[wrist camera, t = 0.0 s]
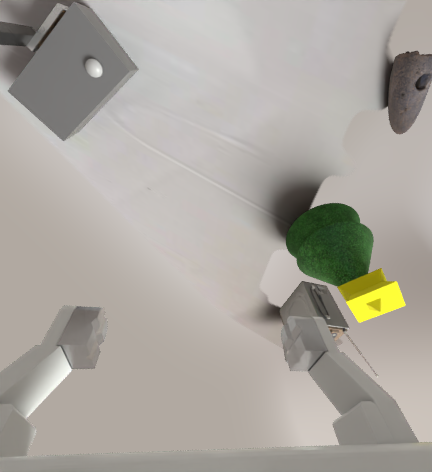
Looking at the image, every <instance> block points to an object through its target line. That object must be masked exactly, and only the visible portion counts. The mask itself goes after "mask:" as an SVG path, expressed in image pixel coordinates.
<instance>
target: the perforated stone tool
mask: <svg viewBox="0 0 432 472" xmlns="http://www.w3.org/2000/svg"><path fill="white" fill-rule="evenodd" d="M431 81H432V54H428V55H424V54H422V55H420V54H419V52H418V51H414V52H411V53H409V52H406V53H403V54H399V55H398V56H396V57H395V60H394V63H393V68H392V72H391V76H390V84H389V95H388V97H389V99H388V110H389V111H388V112H389V120H390V125H391V127H392V129H393V131H394V132H395V133H397V134H403V133H405V132H406V131H407V130H408V129H409V128H410V127H411V126H412V124H413V123H414V122H415V120H416V118H417V116H418V114H419V112H420V110H421V107H422V105H423V102H424V100H425V97H426V95H427V92H428V89H429V87H430V84H431Z"/></svg>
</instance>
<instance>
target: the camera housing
mask: <svg viewBox="0 0 432 472" xmlns="http://www.w3.org/2000/svg"><path fill="white" fill-rule="evenodd" d="M138 70H139V69H138V68H137V67H136V65H135V64H134V63H133V62H132V60H131V59H130V58H129V56H128V55H127V54H126V52H125V51H124V50H123V49H122V47H121V46H120V45H119V43H118V42H117V41H116V40H115V38H114V37H113V36H112V34H111V33H110V32H109V30H108V29H107V28H106V27H105V25H104V24H103V23H102V21H101V20H100V19H99V18H98V16H97V15H96V14H95V12H94V11H93V10H92V9H90V8H88V7H86V6H83V5H81V4H79V3H76V2H73V3H72V4H71V6H70V7H69V9H68V10H67V11H66V13H65V14H64V15H63V17H62V18H61V19H60V21H59V22H58V23H57V25H56V26H55V27H54V29H53V30H52V32H51V33H50V34H49V36H48V37H47V38H46V40H45V41H44V42H43V44H42V45H41V46H40V48H39V49H38V50H37V52H36V53H35V55H34V56H33V57H32V59H31V60H30V61H29V63H28V64H27V65H26V67H25V68H24V69H23V71H22V72H21V74H20V75H19V76H18V78H17V79H16V80H15V82H14V83H13V84H12V86H11V87H10V88H9V90H8V92H9V93H10V94H11V95H12V96H14V97H15V98H16V99H17V100H18V101H19V102H20V103H21V104H23V105H24V106H25V107H26V108H27V109H28V110H29V111H30V112H31V113H33V114H34V115H35V116H36V117H37V118H38V119H39V120H40V121H42V122H43V123H44V124H45V125H46V126H47V127H48V128H49V129H50V130H52V131H53V132H54V133H55V134H56V135H57V136H58V137H59V138H61V139H62V140H63V141H65V140H66V139H68V138H70V137H71V136H73V135H74V134H76V133H78V132H79V131H80V130H81V129H82V128H83V127H84V126H85V125H86V124H87V123H88V122H89V121H90V120H91V119H92V118H93V116H94V115H95V114H96V113H97V112H98V111H99V110H100V109H101V108H102V107H103V106H104V105H105V104H106V103H107V102H108V101H109V100H110V99H111V98H112V97H113V96H114V95H115V94H116V92H117V91H118V90H119V89H120V88H121V87H122V86H123V85H124V84H125V83H126V82H127V81H128V80H129V79H130V78H131V77H132V76H133V75H134V74H135V73H136V72H137V71H138Z"/></svg>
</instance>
